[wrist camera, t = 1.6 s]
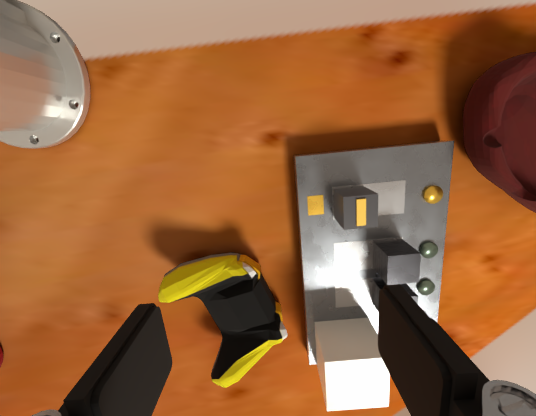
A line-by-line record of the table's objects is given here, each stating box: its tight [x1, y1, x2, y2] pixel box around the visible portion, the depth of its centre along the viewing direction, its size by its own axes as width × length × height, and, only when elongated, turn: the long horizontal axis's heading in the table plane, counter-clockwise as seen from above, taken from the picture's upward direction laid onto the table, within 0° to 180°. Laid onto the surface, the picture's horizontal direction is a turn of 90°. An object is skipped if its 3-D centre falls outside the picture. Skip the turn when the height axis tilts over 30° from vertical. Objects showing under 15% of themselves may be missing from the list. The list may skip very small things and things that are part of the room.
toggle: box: [333, 186, 378, 230], centre depth 24 cm, size 3×3×4 cm
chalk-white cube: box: [314, 317, 390, 411], centre depth 28 cm, size 6×6×6 cm
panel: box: [293, 141, 454, 365], centre depth 27 cm, size 25×15×6 cm, turn 6°
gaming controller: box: [158, 253, 288, 388], centre depth 29 cm, size 15×6×10 cm
